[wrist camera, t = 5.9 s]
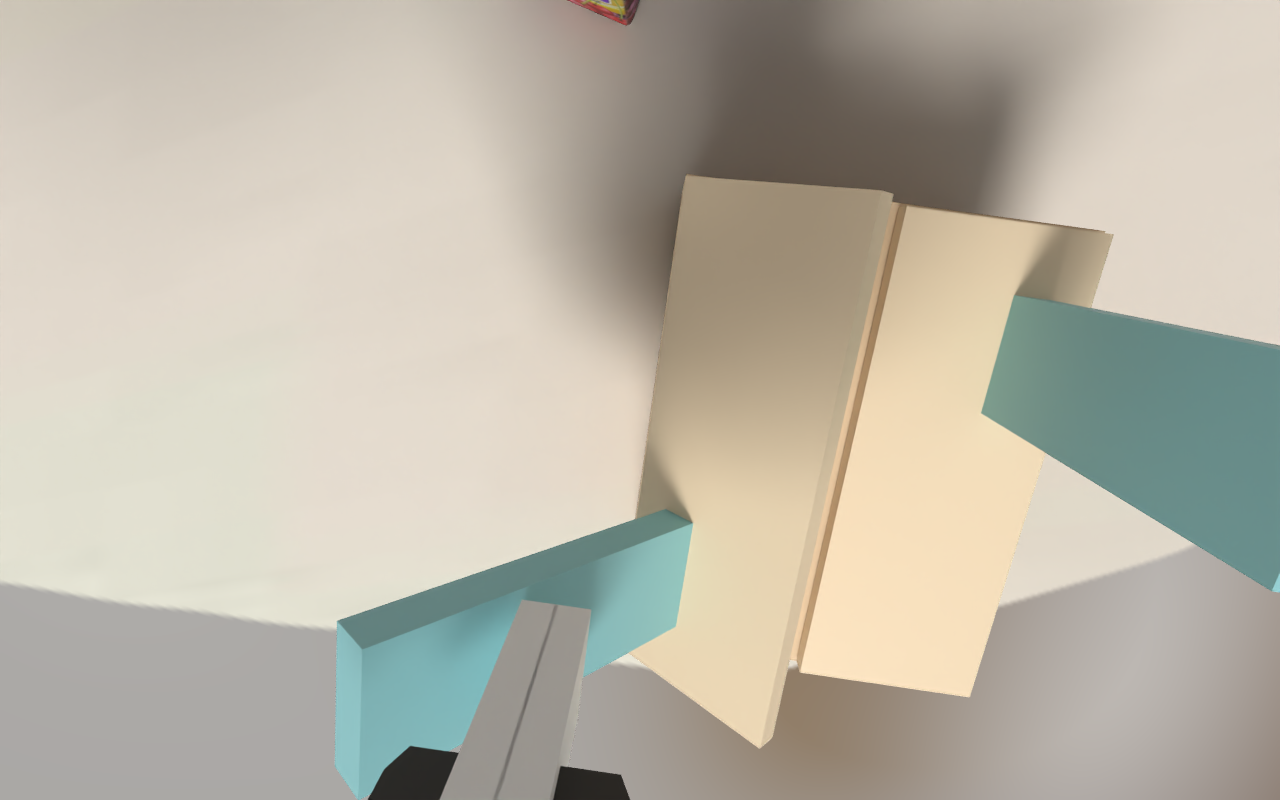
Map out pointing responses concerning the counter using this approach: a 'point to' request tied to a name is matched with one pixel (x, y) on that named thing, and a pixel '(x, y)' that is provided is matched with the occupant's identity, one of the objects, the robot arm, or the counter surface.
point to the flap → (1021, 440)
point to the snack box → (611, 8)
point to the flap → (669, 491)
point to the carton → (851, 396)
